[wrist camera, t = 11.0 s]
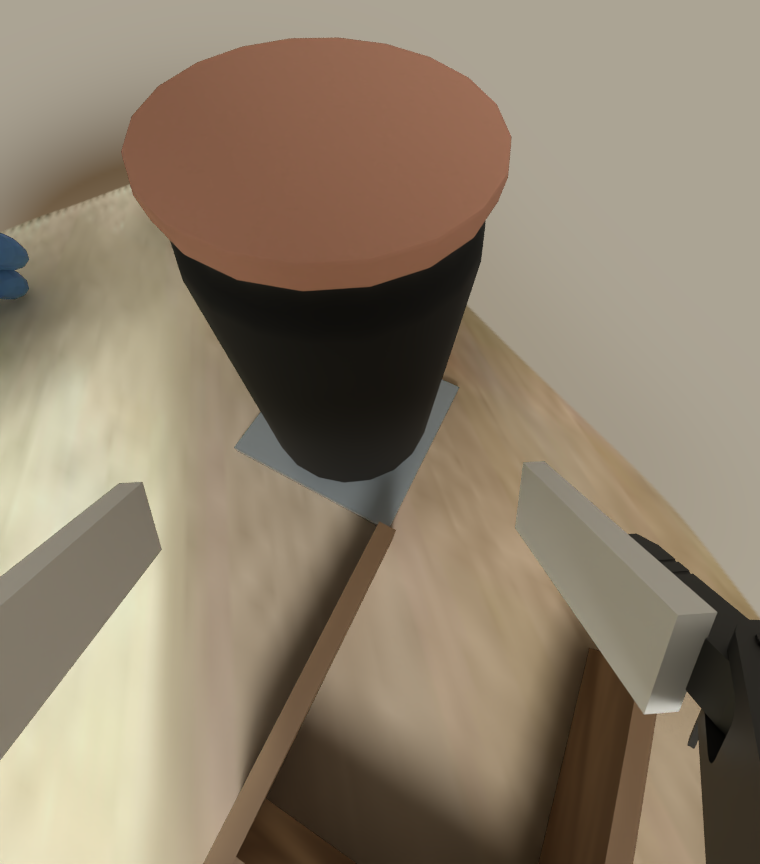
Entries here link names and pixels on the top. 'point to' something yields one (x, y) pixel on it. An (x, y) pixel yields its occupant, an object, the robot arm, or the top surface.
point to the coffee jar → (326, 230)
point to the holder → (577, 785)
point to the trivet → (359, 497)
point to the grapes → (12, 268)
